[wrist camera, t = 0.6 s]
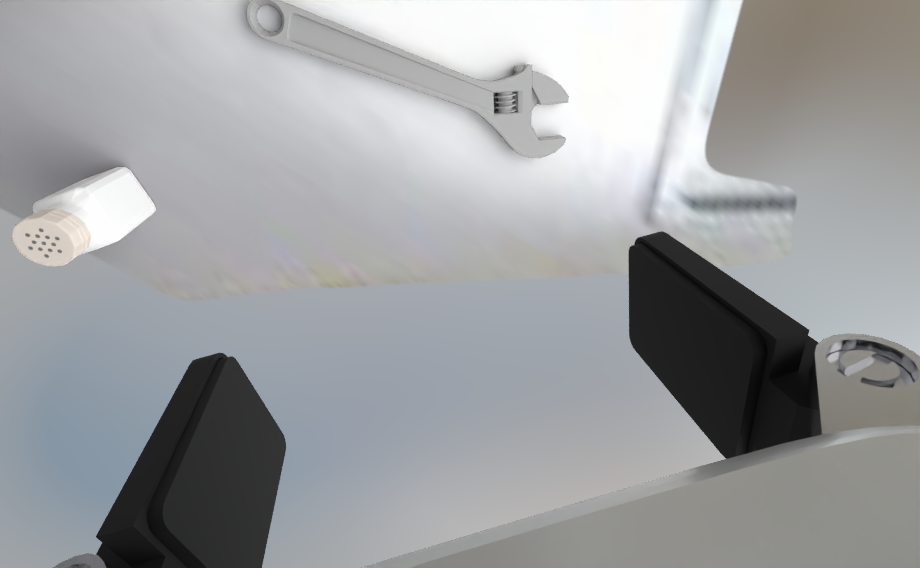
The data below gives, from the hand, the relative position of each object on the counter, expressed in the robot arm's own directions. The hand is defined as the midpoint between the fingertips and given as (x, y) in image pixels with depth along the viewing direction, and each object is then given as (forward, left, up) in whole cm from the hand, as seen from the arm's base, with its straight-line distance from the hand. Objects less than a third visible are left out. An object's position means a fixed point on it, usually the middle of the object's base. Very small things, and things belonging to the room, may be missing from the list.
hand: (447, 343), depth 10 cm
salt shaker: (0, -22, -30) cm, 37 cm away
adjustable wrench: (-4, +4, -30) cm, 30 cm away
